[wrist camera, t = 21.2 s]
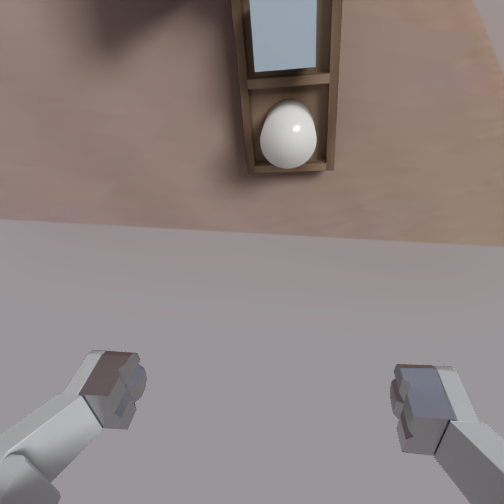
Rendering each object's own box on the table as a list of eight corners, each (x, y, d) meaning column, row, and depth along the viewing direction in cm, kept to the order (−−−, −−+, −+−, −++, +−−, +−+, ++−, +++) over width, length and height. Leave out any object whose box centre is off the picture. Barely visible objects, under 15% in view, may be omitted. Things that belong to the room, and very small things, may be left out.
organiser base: (251, 164, 39) (247, 173, 37) (233, -22, 30) (228, -26, 28) (332, 161, 38) (333, 170, 36) (341, -36, 28) (344, -40, 26)
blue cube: (260, 65, 32) (254, 72, 28) (256, 0, 30) (249, -3, 25) (313, 60, 32) (315, 67, 28) (314, -7, 29) (316, -11, 25)
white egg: (267, 150, 37) (263, 170, 32) (262, 101, 34) (257, 115, 29) (313, 146, 36) (316, 166, 31) (313, 95, 33) (316, 109, 28)
